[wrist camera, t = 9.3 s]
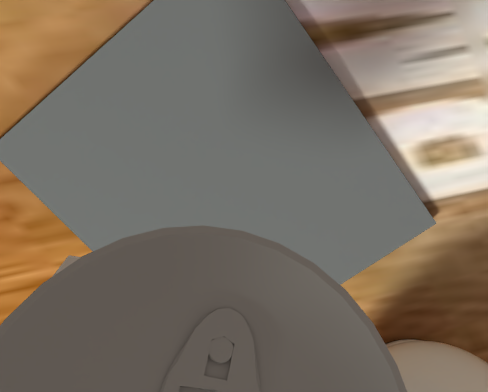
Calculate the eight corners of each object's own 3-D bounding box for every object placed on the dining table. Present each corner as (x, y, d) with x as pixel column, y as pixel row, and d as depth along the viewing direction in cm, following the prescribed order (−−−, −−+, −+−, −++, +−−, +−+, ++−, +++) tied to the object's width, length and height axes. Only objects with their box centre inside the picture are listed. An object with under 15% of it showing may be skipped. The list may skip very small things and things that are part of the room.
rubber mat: (-6, 146, 25) (-12, 149, 25) (235, -71, 22) (234, -74, 21) (211, 360, 31) (210, 367, 31) (432, 219, 27) (436, 223, 27)
